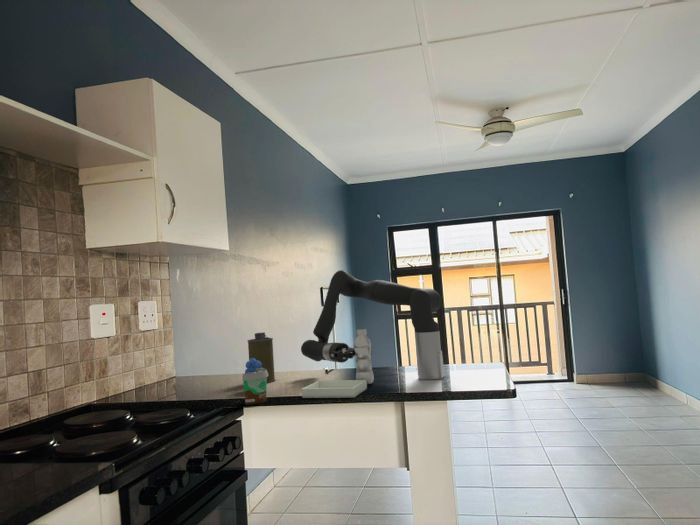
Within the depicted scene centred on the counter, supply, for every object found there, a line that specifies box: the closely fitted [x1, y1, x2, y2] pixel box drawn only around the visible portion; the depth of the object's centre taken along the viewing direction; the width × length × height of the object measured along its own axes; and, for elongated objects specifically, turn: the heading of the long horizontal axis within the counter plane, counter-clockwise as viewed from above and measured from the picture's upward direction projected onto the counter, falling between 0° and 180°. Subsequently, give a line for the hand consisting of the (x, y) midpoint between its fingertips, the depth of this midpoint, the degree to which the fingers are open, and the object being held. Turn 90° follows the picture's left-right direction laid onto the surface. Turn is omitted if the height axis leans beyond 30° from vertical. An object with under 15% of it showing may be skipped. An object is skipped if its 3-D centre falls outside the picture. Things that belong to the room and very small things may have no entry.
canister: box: [247, 332, 276, 384], centre depth 212 cm, size 11×10×20 cm
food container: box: [242, 369, 269, 406], centre depth 170 cm, size 12×6×10 cm, turn 168°
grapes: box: [244, 358, 264, 374], centre depth 191 cm, size 12×7×12 cm, turn 47°
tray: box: [301, 379, 368, 399], centre depth 175 cm, size 18×15×3 cm
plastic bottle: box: [353, 328, 375, 385], centre depth 188 cm, size 6×7×20 cm
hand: (361, 354), depth 189 cm, fingers open, 8 cm apart
